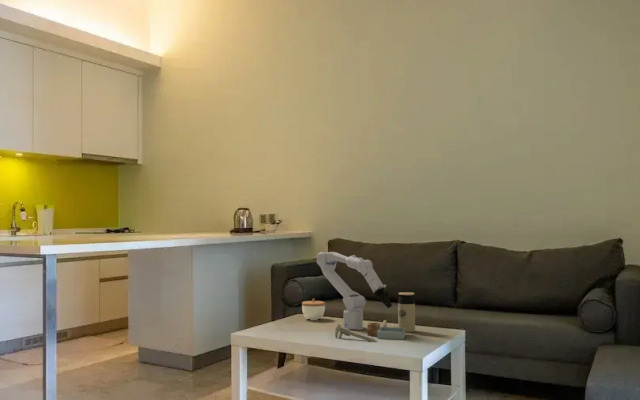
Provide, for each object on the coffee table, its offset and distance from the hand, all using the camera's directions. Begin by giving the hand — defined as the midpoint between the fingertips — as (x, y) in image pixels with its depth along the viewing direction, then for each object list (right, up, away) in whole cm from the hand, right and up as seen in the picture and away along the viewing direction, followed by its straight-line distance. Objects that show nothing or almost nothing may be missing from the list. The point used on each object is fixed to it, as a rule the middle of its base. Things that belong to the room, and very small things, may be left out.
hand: (388, 305), depth 261 cm
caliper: (-16, -13, -14) cm, 25 cm away
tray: (+1, -13, -7) cm, 14 cm away
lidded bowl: (-36, -15, +41) cm, 56 cm away
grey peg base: (-1, -13, +6) cm, 15 cm away
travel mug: (+9, -14, +6) cm, 18 cm away
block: (-7, -13, -3) cm, 15 cm away
